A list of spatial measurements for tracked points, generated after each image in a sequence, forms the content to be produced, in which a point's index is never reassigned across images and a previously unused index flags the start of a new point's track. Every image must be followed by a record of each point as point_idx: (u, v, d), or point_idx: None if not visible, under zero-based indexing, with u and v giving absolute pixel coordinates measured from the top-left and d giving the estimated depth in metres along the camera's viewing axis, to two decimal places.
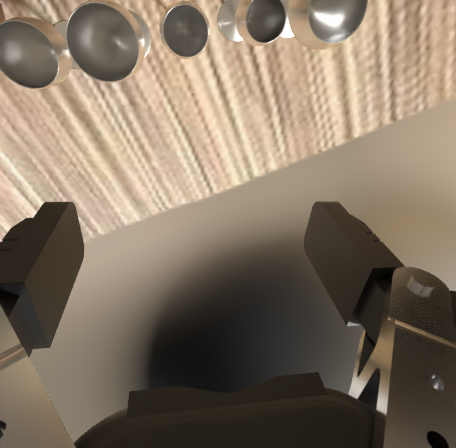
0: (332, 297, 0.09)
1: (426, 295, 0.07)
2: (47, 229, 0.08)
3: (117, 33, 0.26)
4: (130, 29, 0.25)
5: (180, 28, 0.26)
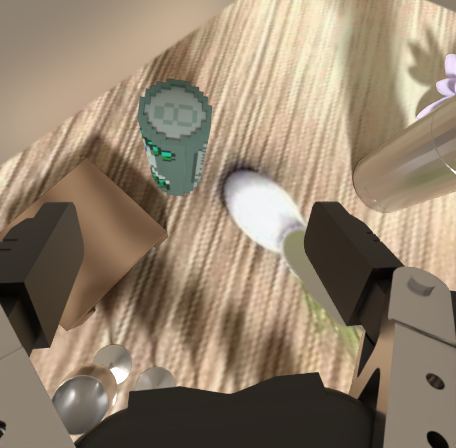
0: (332, 297, 0.09)
1: (426, 295, 0.07)
2: (47, 229, 0.08)
3: None
4: None
5: None
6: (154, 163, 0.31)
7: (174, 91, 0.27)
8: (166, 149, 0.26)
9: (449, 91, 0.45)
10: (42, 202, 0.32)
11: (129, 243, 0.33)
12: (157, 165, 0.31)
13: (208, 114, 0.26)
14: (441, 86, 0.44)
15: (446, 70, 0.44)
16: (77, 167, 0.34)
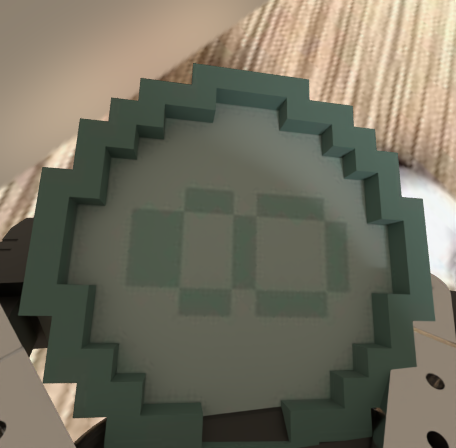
0: None
1: None
2: None
3: None
4: None
5: None
6: None
7: (230, 128, 0.05)
8: None
9: None
10: None
11: None
12: None
13: (414, 248, 0.05)
14: None
15: None
16: None
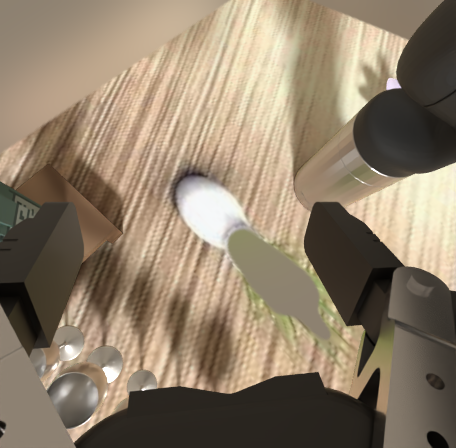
0: (332, 297, 0.09)
1: (426, 295, 0.07)
2: (47, 229, 0.08)
3: None
4: None
5: None
6: None
7: None
8: None
9: None
10: None
11: (83, 238, 0.38)
12: None
13: None
14: None
15: None
16: (40, 171, 0.39)
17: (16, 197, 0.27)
